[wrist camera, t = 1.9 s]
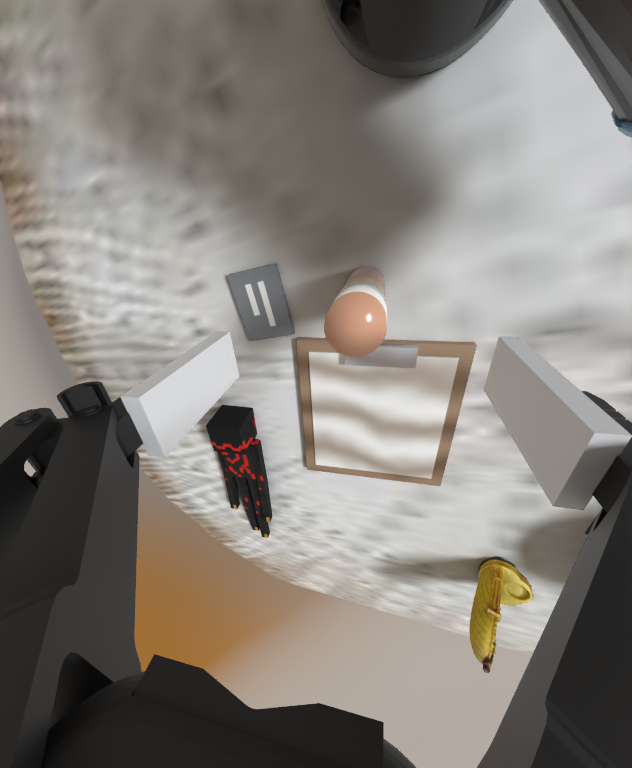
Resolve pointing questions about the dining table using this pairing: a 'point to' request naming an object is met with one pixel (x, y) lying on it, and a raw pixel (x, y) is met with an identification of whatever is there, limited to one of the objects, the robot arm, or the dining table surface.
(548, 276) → the dining table surface
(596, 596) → the robot arm
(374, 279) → the pastel stick
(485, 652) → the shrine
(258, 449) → the toy
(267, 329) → the grey striped tile
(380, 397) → the clipboard
